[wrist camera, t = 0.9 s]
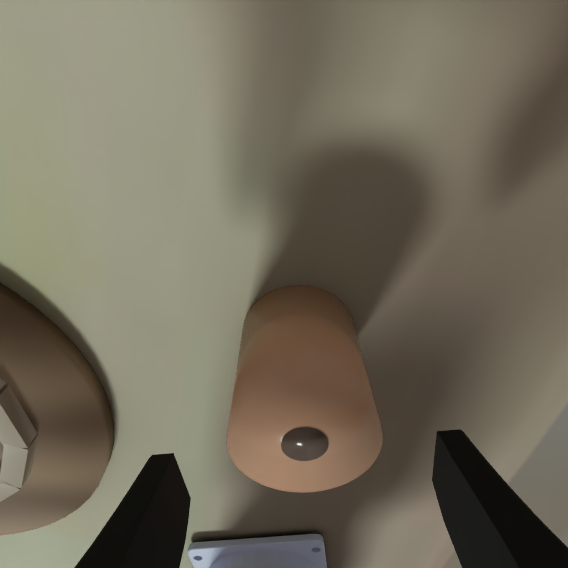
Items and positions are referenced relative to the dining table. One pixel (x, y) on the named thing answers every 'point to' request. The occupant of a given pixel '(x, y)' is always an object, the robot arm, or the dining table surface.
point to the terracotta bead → (302, 395)
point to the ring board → (46, 420)
